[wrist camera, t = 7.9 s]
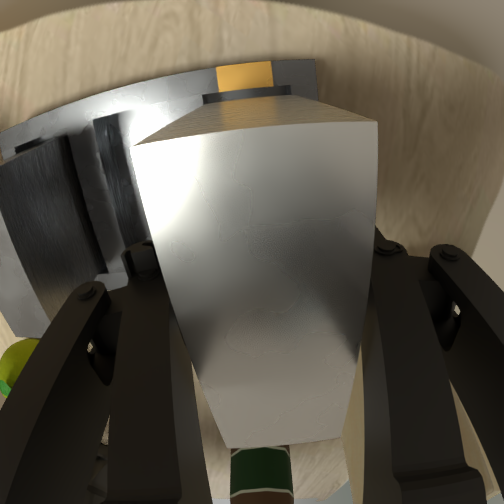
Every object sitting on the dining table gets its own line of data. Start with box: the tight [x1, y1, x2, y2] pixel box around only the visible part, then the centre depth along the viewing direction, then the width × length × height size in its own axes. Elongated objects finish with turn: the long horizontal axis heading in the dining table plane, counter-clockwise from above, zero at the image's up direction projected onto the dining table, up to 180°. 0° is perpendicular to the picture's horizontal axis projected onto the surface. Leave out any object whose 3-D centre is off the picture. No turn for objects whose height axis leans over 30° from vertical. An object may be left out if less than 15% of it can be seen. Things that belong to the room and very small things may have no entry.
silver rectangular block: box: [130, 95, 378, 448], centre depth 11 cm, size 4×10×10 cm, turn 6°
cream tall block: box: [341, 346, 501, 504], centre depth 20 cm, size 8×7×21 cm
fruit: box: [0, 339, 40, 398], centre depth 28 cm, size 9×9×10 cm
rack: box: [0, 59, 318, 338], centre depth 17 cm, size 22×14×11 cm, turn 96°
